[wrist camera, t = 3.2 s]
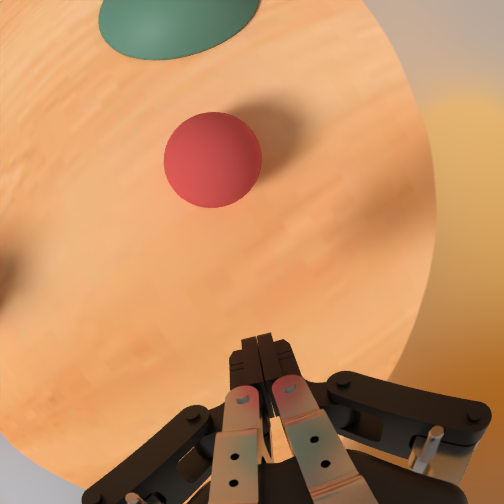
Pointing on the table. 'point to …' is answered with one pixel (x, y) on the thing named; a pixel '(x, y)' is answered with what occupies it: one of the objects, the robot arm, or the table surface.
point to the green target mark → (171, 25)
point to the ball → (212, 160)
